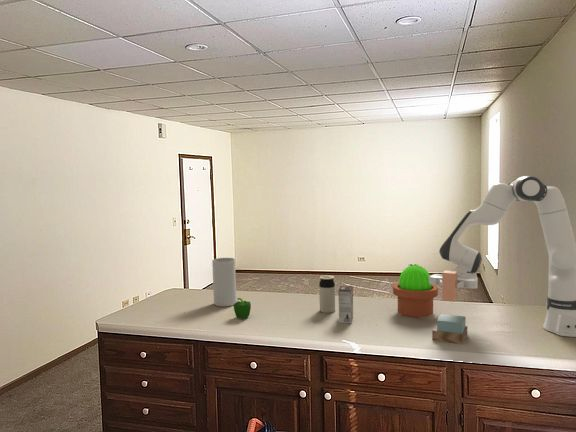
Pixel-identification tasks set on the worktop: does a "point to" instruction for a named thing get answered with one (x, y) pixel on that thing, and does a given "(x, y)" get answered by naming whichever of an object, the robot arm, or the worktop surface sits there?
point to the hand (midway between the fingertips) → (449, 285)
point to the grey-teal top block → (451, 323)
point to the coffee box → (345, 304)
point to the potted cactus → (415, 292)
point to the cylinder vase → (224, 281)
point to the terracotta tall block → (449, 286)
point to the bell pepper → (242, 309)
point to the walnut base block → (449, 336)
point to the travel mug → (327, 294)
